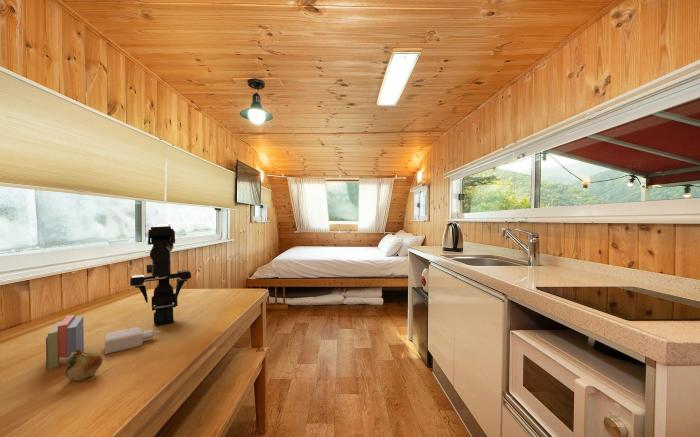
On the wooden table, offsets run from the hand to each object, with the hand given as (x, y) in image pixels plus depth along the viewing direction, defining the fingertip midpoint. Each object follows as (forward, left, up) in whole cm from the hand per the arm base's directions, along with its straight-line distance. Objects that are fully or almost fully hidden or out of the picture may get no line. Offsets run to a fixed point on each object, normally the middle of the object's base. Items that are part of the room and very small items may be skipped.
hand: (162, 300), depth 105 cm
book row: (+25, +2, -13) cm, 29 cm away
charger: (+8, +2, -14) cm, 16 cm away
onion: (+19, +21, -14) cm, 31 cm away
